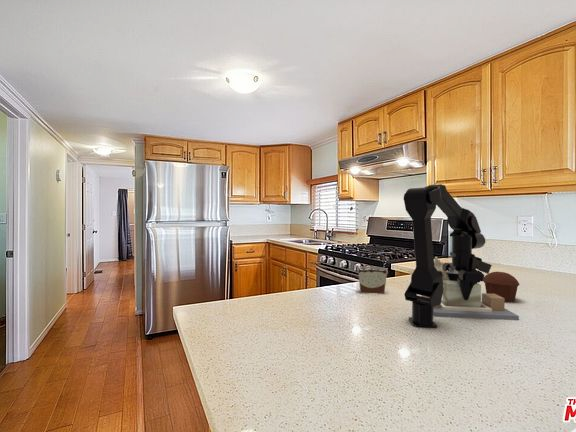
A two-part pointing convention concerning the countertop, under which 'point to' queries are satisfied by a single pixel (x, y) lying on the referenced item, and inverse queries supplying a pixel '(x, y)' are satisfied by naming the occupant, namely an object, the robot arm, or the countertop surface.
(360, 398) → the countertop surface
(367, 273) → the food container
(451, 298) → the sage block
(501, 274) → the muffin
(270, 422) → the countertop surface
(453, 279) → the robot arm
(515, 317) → the board
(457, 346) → the countertop surface
